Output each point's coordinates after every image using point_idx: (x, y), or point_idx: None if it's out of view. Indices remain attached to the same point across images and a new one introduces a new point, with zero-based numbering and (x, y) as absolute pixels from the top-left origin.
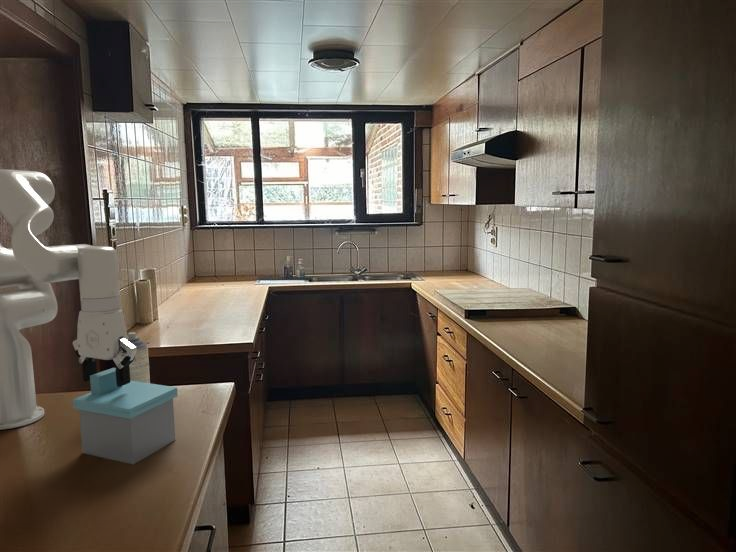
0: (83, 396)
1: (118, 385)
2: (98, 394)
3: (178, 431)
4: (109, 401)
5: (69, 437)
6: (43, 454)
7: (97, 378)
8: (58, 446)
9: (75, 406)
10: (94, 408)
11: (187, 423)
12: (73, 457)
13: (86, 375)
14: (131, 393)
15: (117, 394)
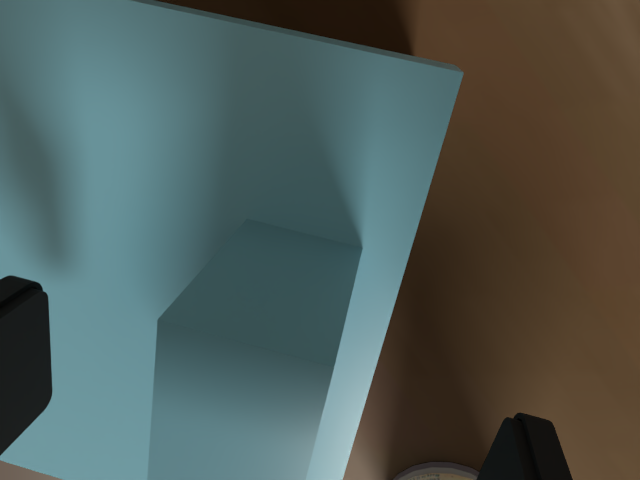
0: (396, 171)
1: (7, 278)
2: (264, 225)
3: None
4: (31, 72)
5: (605, 224)
6: (637, 9)
7: (191, 311)
8: (604, 117)
9: (427, 60)
10: (170, 5)
11: None
12: (432, 7)
13: (514, 476)
14: None
15: (108, 253)
